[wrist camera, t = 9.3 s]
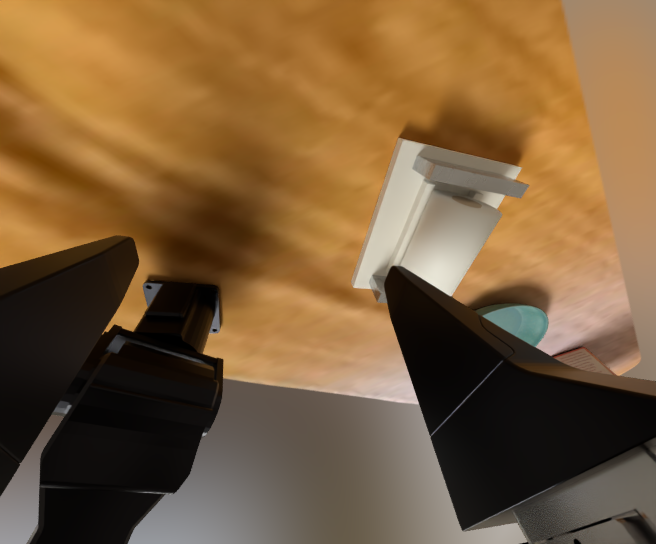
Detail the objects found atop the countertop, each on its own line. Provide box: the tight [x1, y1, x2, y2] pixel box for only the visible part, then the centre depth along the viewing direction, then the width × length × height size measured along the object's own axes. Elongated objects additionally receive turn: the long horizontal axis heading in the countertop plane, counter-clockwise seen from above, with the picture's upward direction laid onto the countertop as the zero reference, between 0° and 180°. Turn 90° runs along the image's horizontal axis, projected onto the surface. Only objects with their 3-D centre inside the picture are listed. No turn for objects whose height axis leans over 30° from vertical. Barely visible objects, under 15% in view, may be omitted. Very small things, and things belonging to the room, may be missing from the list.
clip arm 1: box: [369, 275, 453, 303], centre depth 26 cm, size 1×8×3 cm, turn 78°
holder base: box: [351, 138, 521, 289], centre depth 24 cm, size 14×11×2 cm
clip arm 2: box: [412, 155, 529, 198], centre depth 19 cm, size 1×8×3 cm, turn 78°
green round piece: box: [475, 303, 548, 347], centre depth 35 cm, size 15×15×3 cm
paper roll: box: [400, 190, 502, 296], centre depth 22 cm, size 8×5×5 cm, turn 168°
